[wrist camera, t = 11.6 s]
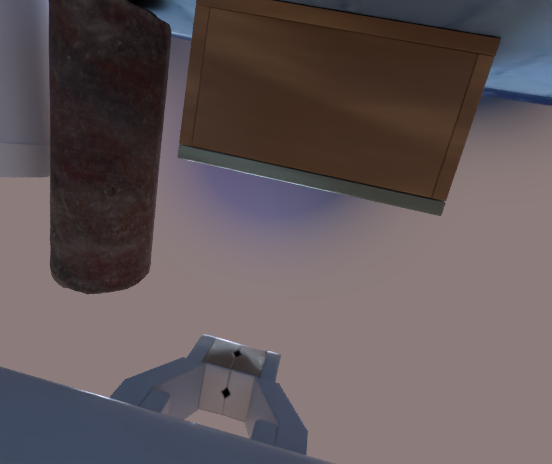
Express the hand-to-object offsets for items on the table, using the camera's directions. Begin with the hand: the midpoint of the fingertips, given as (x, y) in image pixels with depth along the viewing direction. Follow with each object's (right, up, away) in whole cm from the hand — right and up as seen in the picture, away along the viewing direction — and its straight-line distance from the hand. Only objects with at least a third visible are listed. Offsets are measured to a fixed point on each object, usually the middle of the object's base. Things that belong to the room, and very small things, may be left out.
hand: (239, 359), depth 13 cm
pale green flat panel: (+4, +9, +12) cm, 15 cm away
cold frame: (+5, +17, +9) cm, 20 cm away
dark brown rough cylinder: (-9, +20, +10) cm, 24 cm away
